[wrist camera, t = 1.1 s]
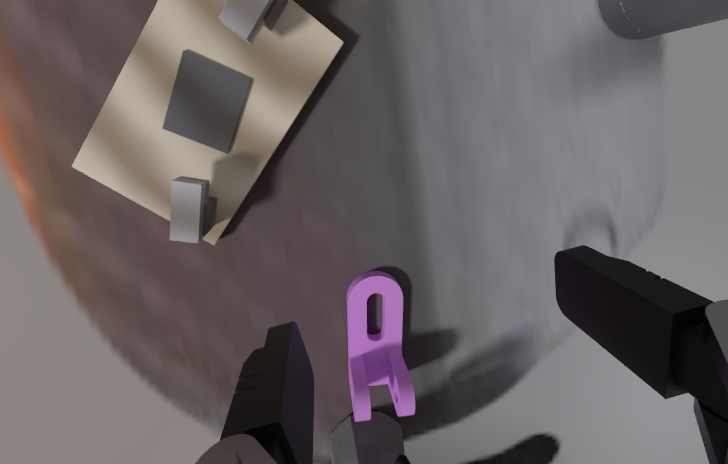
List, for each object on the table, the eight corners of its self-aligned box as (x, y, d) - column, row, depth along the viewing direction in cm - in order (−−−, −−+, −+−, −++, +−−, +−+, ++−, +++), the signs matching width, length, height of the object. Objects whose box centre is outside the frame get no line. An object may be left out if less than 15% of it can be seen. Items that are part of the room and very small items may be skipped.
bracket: (397, 373, 40) (414, 424, 33) (349, 378, 39) (356, 431, 33) (400, 268, 36) (420, 302, 29) (346, 272, 35) (353, 307, 29)
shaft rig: (205, -67, 25) (177, -114, 20) (342, 45, 29) (348, 29, 23) (83, 164, 29) (32, 174, 24) (218, 239, 32) (199, 263, 27)
